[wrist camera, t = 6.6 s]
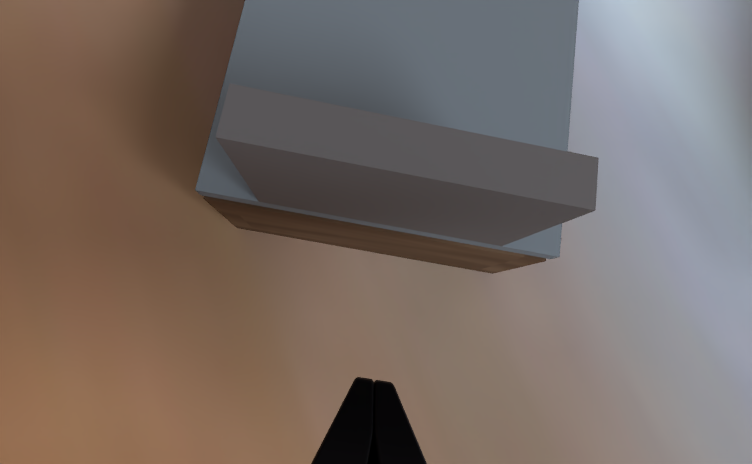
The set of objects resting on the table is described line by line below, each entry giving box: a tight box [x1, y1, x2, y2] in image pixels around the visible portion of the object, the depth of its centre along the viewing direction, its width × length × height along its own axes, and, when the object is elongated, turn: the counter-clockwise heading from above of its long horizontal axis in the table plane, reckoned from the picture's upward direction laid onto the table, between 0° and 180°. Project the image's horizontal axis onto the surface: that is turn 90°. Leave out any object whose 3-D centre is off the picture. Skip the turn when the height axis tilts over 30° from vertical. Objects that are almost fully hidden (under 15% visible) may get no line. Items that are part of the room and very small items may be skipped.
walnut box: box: [204, 196, 546, 273], centre depth 18 cm, size 14×12×5 cm
